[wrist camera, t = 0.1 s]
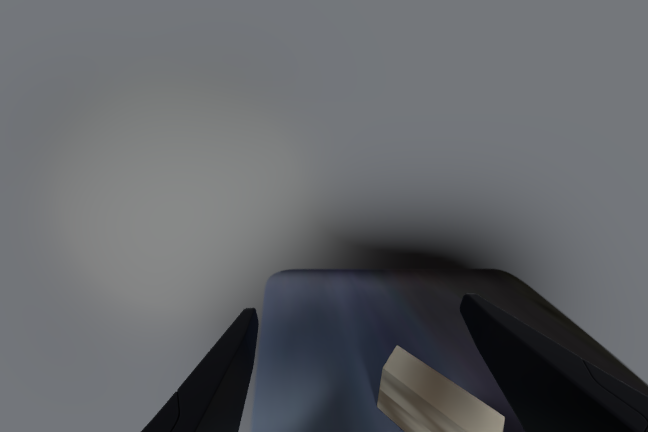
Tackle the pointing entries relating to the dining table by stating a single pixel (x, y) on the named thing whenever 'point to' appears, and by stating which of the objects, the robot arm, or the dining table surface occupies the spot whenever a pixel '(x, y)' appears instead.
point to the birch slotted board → (430, 399)
